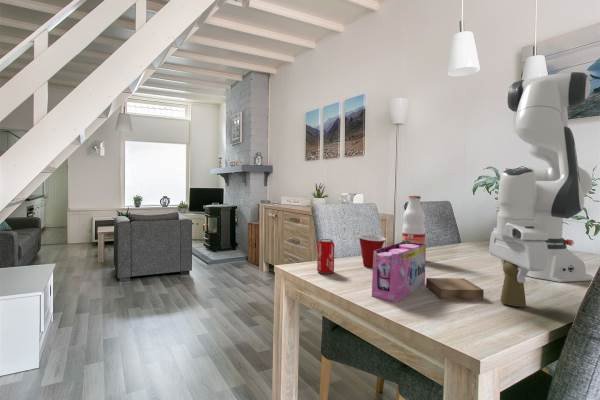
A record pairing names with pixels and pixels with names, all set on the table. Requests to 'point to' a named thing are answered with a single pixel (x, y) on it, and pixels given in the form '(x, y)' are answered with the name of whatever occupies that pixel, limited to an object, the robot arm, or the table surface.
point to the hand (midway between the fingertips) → (513, 279)
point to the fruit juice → (414, 222)
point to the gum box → (398, 270)
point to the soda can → (325, 256)
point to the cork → (512, 287)
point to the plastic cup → (370, 247)
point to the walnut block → (454, 289)
